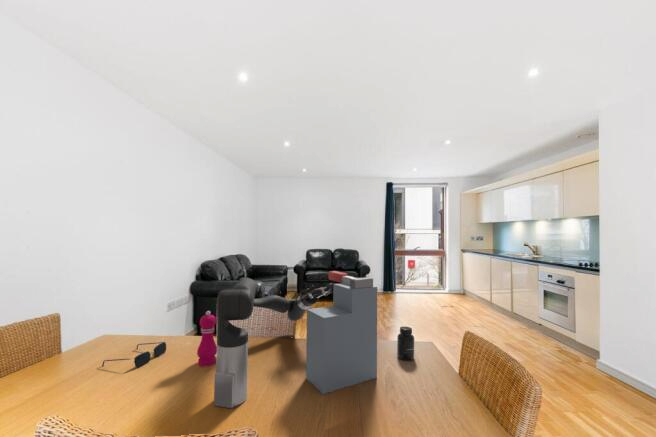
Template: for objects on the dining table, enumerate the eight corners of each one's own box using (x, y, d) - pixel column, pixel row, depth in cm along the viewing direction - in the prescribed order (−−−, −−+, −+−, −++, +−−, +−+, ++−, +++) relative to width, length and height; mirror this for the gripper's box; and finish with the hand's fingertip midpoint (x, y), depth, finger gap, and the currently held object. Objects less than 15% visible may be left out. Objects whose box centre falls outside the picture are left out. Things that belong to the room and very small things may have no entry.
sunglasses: (136, 371, 112) (135, 357, 113) (101, 373, 114) (100, 359, 115) (167, 352, 129) (166, 340, 130) (137, 354, 131) (136, 342, 132)
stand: (306, 378, 107) (307, 286, 108) (356, 364, 119) (357, 281, 120) (323, 394, 97) (324, 292, 98) (376, 377, 108) (377, 286, 109)
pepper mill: (220, 359, 122) (221, 308, 123) (211, 367, 115) (212, 313, 115) (202, 358, 123) (204, 308, 123) (193, 366, 115) (194, 313, 116)
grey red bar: (323, 279, 123) (323, 271, 123) (340, 278, 127) (340, 270, 128) (354, 288, 105) (355, 279, 105) (373, 286, 109) (373, 277, 109)
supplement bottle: (410, 362, 121) (410, 332, 121) (394, 358, 125) (394, 328, 125) (416, 357, 126) (416, 327, 127) (401, 352, 130) (401, 324, 131)
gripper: (292, 292, 142) (306, 279, 130) (319, 290, 149) (334, 277, 137) (295, 308, 138) (309, 296, 126) (322, 305, 145) (338, 293, 134)
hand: (322, 286), depth 132 cm, fingers open, 8 cm apart
